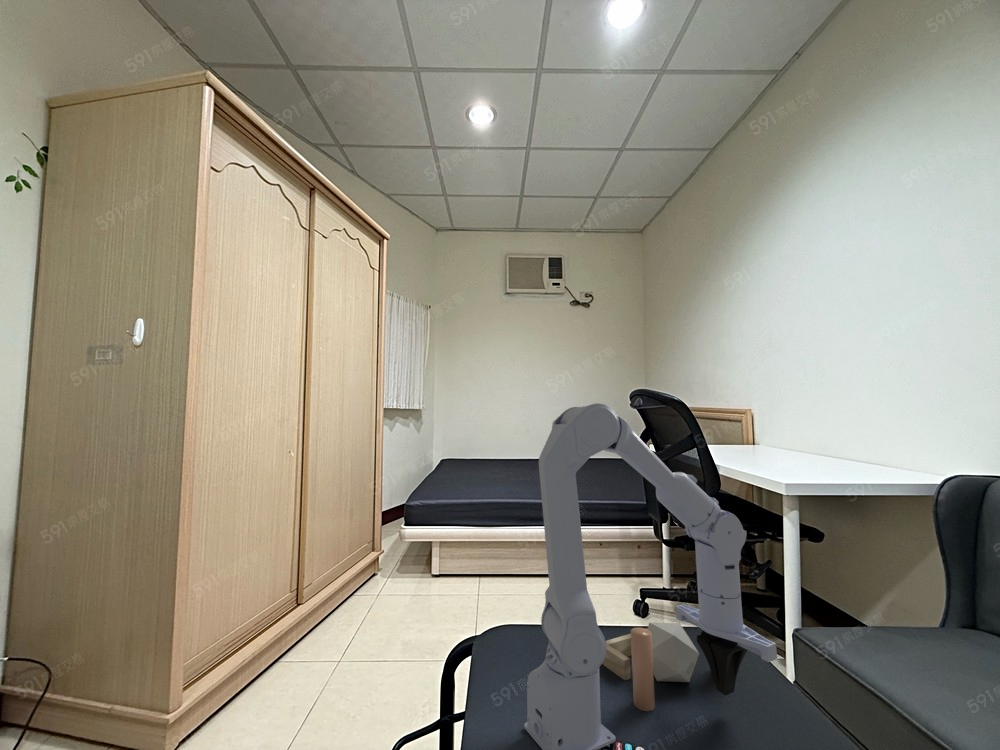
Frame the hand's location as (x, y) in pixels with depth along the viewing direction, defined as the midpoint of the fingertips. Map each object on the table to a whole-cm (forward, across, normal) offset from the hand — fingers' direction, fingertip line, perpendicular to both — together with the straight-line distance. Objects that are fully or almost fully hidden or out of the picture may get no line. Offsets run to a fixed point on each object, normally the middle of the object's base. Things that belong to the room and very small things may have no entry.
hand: (725, 691), depth 60 cm
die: (+3, +10, 0) cm, 11 cm away
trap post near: (+3, +7, +9) cm, 12 cm away
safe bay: (+3, +16, 0) cm, 16 cm away
